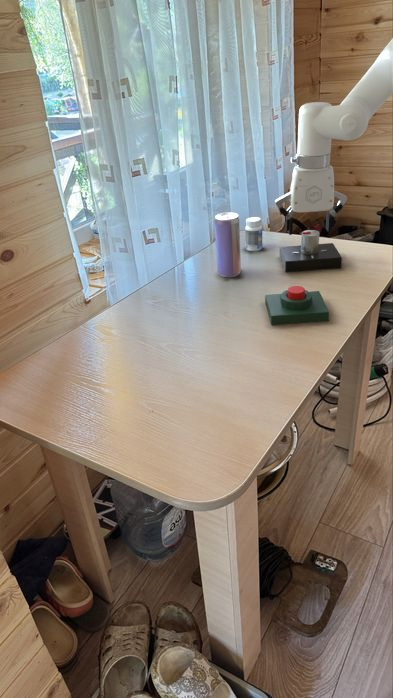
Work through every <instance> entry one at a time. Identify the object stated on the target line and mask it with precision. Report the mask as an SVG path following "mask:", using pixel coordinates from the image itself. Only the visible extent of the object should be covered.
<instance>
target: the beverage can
mask: <svg viewBox="0 0 393 698" xmlns="http://www.w3.org/2000/svg"><path fill="white" fill-rule="evenodd" d="M214 218H215V219H214V235H215V251H216V252H215V253H216V268H217V269H216V270H217V274H218V275H219V276H220V277H222V278H229V279H230V278H234V277H237V276H240V273H241V271H242V263H241V262H242V261H241V233H240V231H241V230H240V218H239V214H238V213H236V212H230V211H229V212H227V211H226V212H220V213H217V214H216V215H215V216H214Z"/></svg>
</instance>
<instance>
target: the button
mask: <svg viewBox="0 0 393 698" xmlns="http://www.w3.org/2000/svg"><path fill="white" fill-rule="evenodd" d="M287 290H288V298H289V299H292V300H301V299H304V298H305V290H306V289H305V287H303V286H300V285H292V286H289V287H288V289H287Z"/></svg>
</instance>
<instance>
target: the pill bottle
mask: <svg viewBox="0 0 393 698" xmlns="http://www.w3.org/2000/svg"><path fill="white" fill-rule="evenodd" d="M245 223H246V225H245V227H244V233H245V234H244V238H245V239H244V241H245V249H246V251H249V252H258V251H261V250H262V249H263V226H262V219H261V217H258V216H252V217H251V216H250V217H248V218H246V219H245Z"/></svg>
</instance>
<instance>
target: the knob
mask: <svg viewBox="0 0 393 698" xmlns="http://www.w3.org/2000/svg"><path fill="white" fill-rule="evenodd" d="M320 234H321V233H320V231H319V230H316V229H306V230H303V231H302V232H301V241H300V244H301V253H303V254H306V255H314V254H317V253H318V252H319V244H320Z"/></svg>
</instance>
